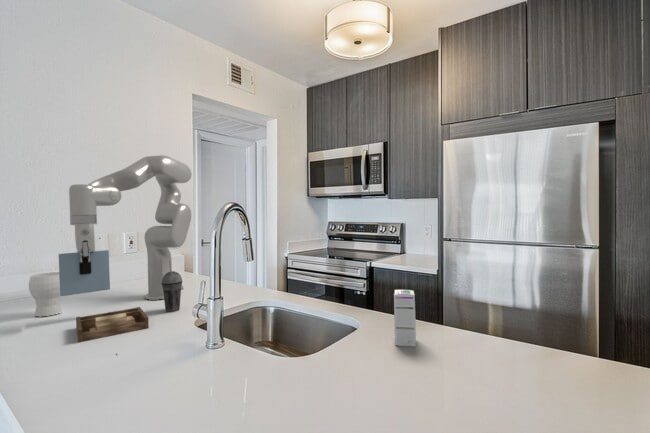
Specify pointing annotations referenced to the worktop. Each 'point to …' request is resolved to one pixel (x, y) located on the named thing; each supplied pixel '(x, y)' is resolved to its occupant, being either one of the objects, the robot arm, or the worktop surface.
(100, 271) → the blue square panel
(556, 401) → the worktop surface
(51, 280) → the cup
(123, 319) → the offcut top
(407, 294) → the syrup box
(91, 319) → the rack
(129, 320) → the offcut middle
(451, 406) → the worktop surface
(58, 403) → the worktop surface
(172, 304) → the beverage cup
